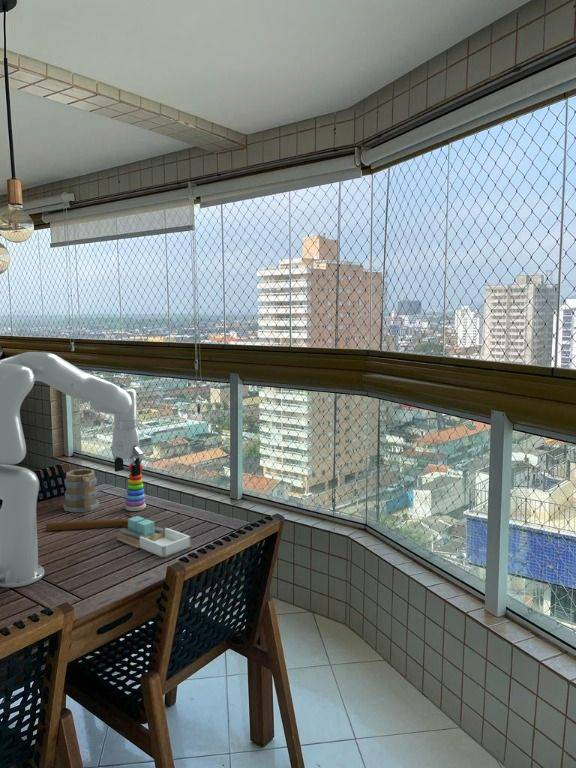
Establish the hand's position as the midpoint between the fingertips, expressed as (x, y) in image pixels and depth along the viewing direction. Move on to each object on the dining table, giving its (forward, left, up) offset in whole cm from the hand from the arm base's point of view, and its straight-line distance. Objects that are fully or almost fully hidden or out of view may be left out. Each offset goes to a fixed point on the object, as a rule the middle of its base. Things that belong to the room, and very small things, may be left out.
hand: (127, 473), depth 189 cm
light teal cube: (-1, -12, -18) cm, 22 cm away
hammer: (-6, +12, -21) cm, 25 cm away
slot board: (-1, -10, -20) cm, 22 cm away
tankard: (+2, +31, -21) cm, 38 cm away
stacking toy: (+16, +17, -21) cm, 31 cm away
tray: (-1, -22, -20) cm, 30 cm away
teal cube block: (-1, -7, -18) cm, 20 cm away
